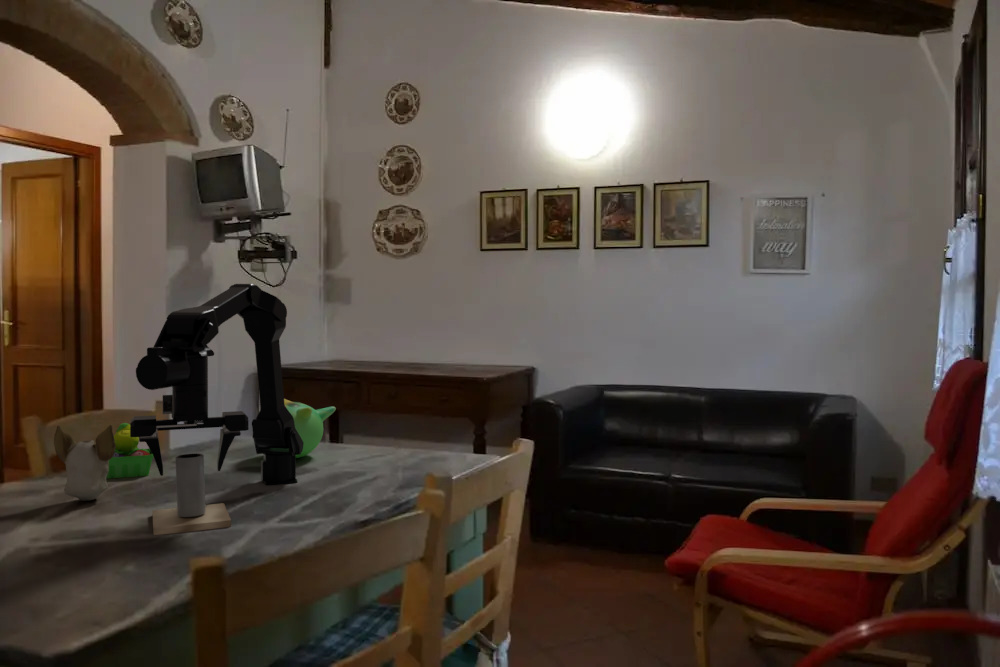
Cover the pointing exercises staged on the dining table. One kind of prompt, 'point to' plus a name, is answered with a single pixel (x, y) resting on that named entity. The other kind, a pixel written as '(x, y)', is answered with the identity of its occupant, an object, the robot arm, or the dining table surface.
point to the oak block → (190, 520)
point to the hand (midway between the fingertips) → (190, 472)
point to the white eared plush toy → (85, 463)
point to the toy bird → (308, 423)
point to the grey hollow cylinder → (190, 485)
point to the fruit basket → (128, 456)
